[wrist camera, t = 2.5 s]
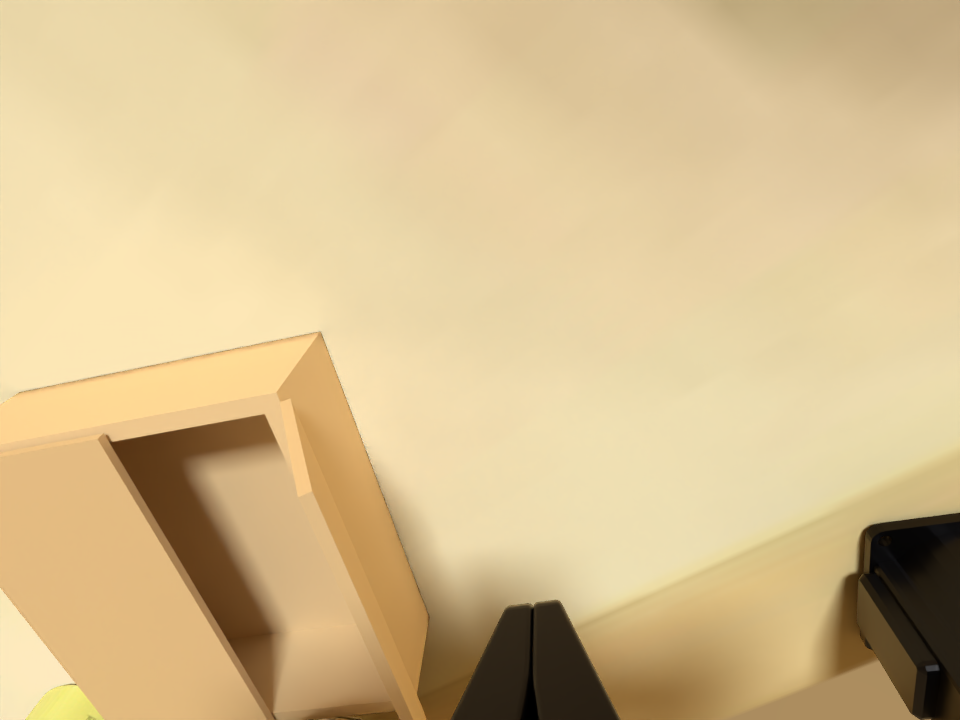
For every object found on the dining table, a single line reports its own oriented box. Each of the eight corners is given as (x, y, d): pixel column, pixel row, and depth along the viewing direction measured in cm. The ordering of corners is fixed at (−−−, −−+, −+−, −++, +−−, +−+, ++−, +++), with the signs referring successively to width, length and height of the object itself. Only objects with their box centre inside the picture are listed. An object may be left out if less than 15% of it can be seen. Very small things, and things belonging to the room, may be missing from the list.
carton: (320, 331, 21) (270, 400, 16) (429, 617, 27) (412, 721, 22) (19, 392, 22) (-95, 468, 18) (184, 647, 28) (126, 748, 24)
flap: (279, 402, 17) (290, 398, 17) (415, 712, 22) (422, 708, 23) (297, 497, 12) (312, 491, 12) (459, 851, 18) (469, 846, 18)
